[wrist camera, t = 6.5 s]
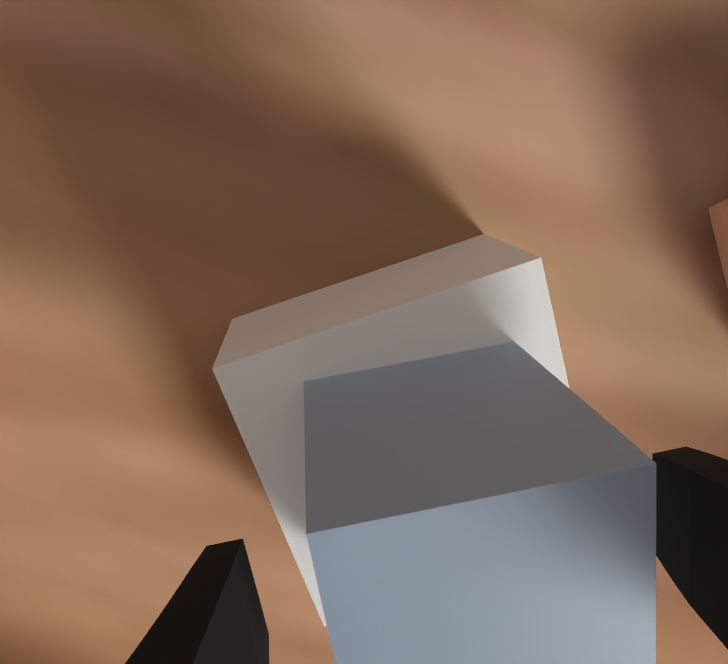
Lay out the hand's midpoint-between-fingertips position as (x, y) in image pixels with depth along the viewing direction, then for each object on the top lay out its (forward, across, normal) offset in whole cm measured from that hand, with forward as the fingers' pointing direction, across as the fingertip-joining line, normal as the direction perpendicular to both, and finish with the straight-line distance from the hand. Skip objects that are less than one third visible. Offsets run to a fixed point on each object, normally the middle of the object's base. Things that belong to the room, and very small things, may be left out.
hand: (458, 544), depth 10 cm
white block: (+7, 0, 0) cm, 7 cm away
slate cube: (+3, 0, 0) cm, 3 cm away
